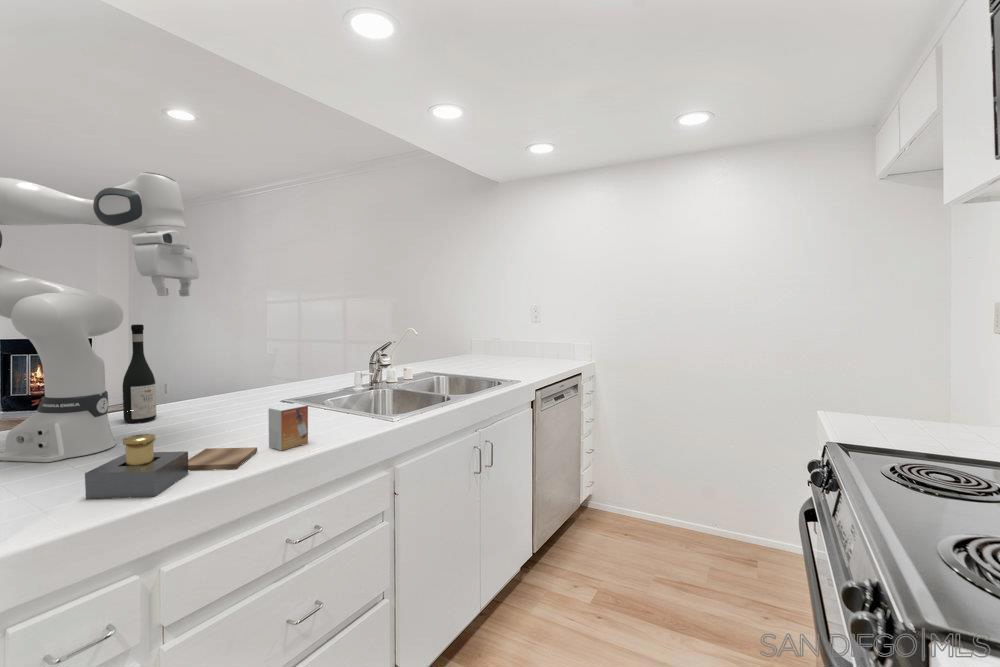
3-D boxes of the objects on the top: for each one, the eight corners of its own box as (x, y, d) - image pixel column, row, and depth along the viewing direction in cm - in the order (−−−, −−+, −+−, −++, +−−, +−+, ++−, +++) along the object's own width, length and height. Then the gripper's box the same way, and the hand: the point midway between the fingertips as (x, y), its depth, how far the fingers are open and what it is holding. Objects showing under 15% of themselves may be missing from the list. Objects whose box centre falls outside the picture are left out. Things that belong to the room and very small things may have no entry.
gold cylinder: (118, 491, 91) (116, 441, 90) (135, 481, 96) (133, 434, 95) (146, 490, 91) (145, 441, 91) (162, 480, 96) (160, 433, 96)
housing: (85, 499, 87) (84, 473, 86) (128, 475, 99) (127, 452, 98) (154, 496, 88) (154, 471, 88) (188, 473, 100) (187, 451, 100)
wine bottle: (162, 419, 145) (159, 324, 143) (134, 425, 138) (131, 325, 136) (145, 416, 148) (142, 323, 146) (117, 422, 140) (114, 324, 138)
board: (178, 470, 102) (178, 465, 102) (206, 453, 114) (205, 448, 114) (236, 469, 103) (236, 464, 103) (257, 452, 115) (257, 447, 115)
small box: (281, 451, 116) (280, 410, 115) (268, 447, 119) (267, 407, 118) (308, 443, 123) (308, 405, 122) (296, 440, 126) (295, 402, 125)
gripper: (177, 246, 124) (183, 297, 125) (125, 235, 103) (134, 296, 105) (202, 245, 124) (208, 295, 126) (155, 233, 104) (164, 294, 105)
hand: (174, 296), depth 115 cm, fingers open, 8 cm apart
